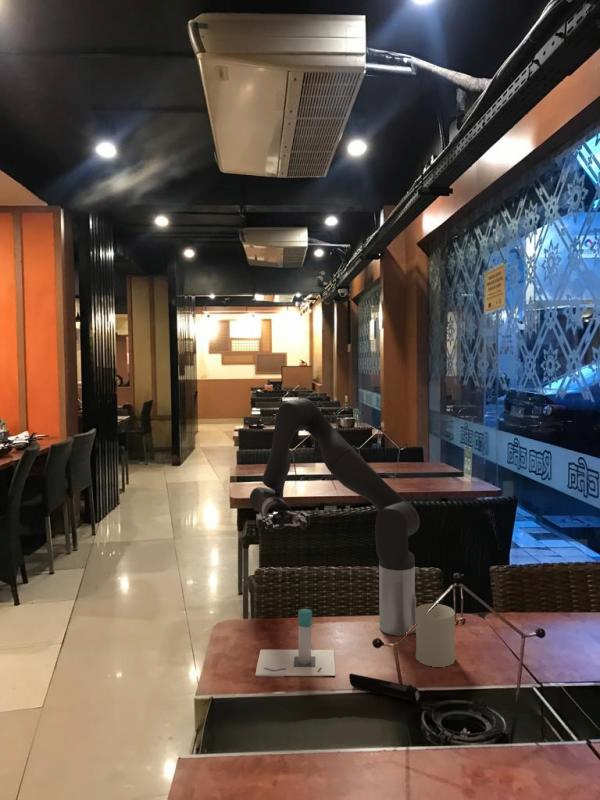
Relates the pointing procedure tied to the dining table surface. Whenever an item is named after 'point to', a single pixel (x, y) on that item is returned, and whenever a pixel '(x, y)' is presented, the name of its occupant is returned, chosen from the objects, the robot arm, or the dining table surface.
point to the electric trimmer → (386, 688)
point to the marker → (304, 636)
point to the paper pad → (295, 663)
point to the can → (435, 635)
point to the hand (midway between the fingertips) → (288, 526)
